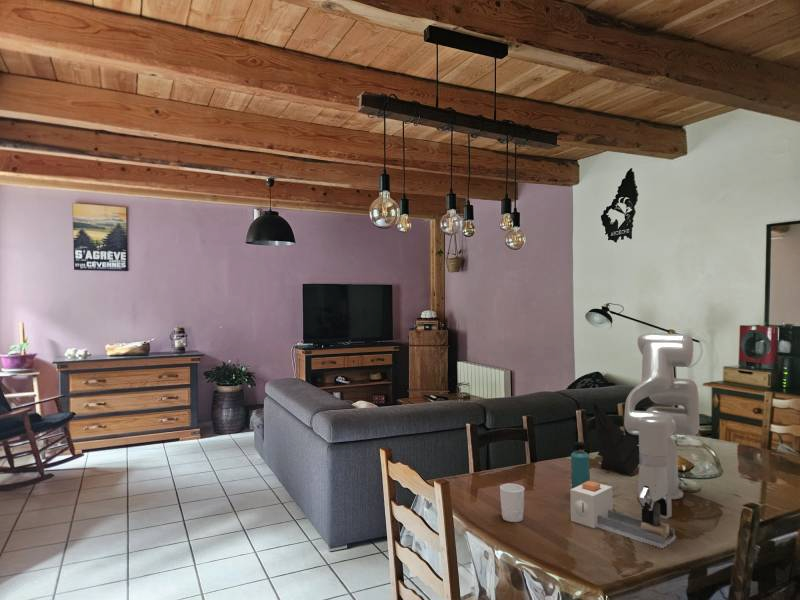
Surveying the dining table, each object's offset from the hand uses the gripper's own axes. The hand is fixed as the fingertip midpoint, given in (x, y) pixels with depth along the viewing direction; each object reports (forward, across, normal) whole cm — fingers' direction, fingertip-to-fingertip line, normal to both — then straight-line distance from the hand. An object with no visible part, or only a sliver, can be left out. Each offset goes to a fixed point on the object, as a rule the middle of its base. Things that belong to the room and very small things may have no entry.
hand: (654, 518), depth 152 cm
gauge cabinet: (+6, 0, -20) cm, 21 cm away
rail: (+6, 0, -6) cm, 9 cm away
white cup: (+6, +18, -38) cm, 42 cm away
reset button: (-1, 0, -20) cm, 20 cm away
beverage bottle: (+6, -14, -32) cm, 36 cm away
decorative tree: (+6, -51, -38) cm, 64 cm away
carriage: (+5, 0, 0) cm, 5 cm away
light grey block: (+6, -19, -7) cm, 21 cm away
